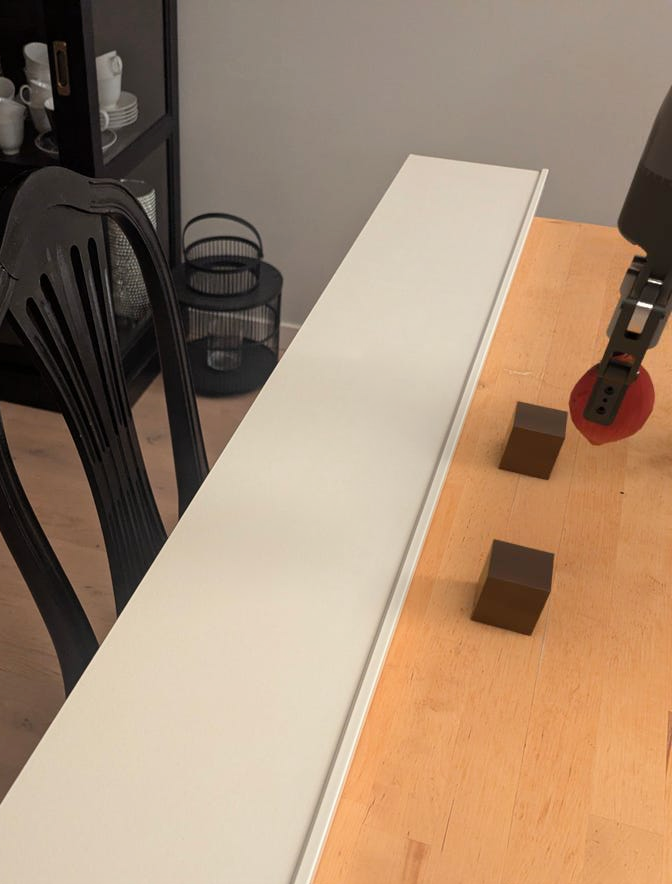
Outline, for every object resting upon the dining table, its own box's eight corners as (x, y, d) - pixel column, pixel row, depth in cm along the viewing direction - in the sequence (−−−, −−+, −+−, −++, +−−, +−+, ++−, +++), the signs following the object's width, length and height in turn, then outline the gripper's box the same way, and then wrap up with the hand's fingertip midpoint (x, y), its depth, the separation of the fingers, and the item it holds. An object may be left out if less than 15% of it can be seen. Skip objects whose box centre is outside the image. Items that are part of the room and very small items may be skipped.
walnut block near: (477, 582, 80) (493, 538, 76) (535, 597, 79) (554, 553, 75) (470, 619, 77) (487, 575, 73) (531, 635, 76) (551, 591, 72)
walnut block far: (502, 442, 96) (517, 400, 92) (551, 453, 95) (568, 411, 91) (498, 468, 92) (513, 425, 89) (548, 479, 91) (565, 437, 88)
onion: (544, 446, 71) (581, 351, 65) (569, 414, 74) (606, 321, 68) (619, 474, 69) (663, 379, 63) (641, 440, 72) (685, 346, 66)
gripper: (758, 214, 51) (639, 464, 63) (778, 143, 60) (671, 373, 72) (622, 185, 53) (532, 431, 66) (661, 121, 62) (576, 347, 75)
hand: (605, 400), depth 69 cm, fingers closed on onion, 6 cm apart
